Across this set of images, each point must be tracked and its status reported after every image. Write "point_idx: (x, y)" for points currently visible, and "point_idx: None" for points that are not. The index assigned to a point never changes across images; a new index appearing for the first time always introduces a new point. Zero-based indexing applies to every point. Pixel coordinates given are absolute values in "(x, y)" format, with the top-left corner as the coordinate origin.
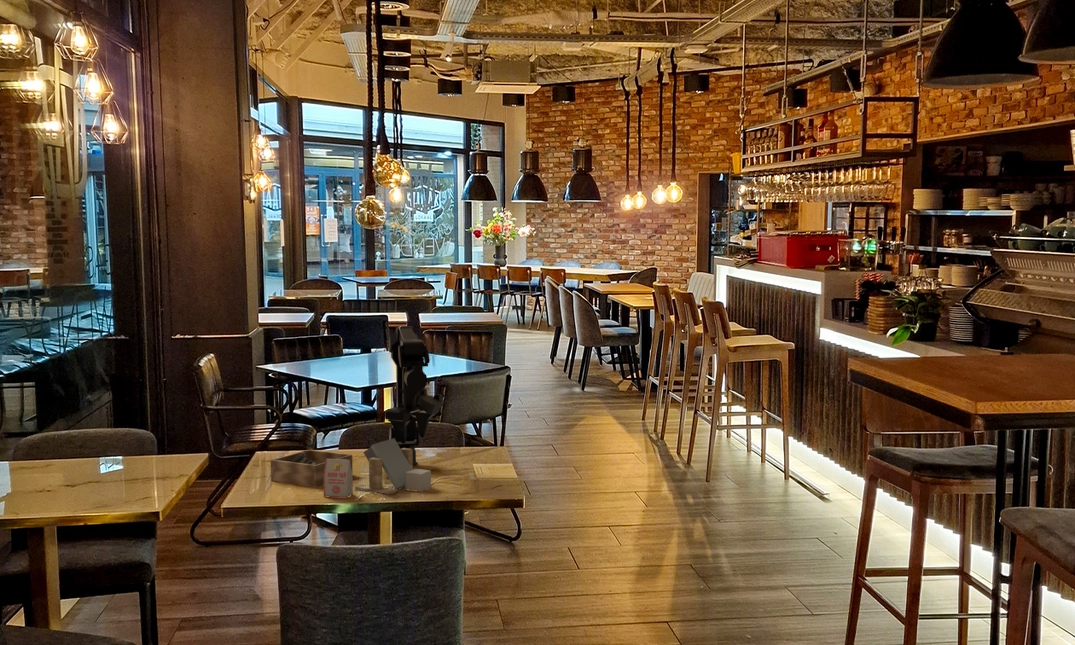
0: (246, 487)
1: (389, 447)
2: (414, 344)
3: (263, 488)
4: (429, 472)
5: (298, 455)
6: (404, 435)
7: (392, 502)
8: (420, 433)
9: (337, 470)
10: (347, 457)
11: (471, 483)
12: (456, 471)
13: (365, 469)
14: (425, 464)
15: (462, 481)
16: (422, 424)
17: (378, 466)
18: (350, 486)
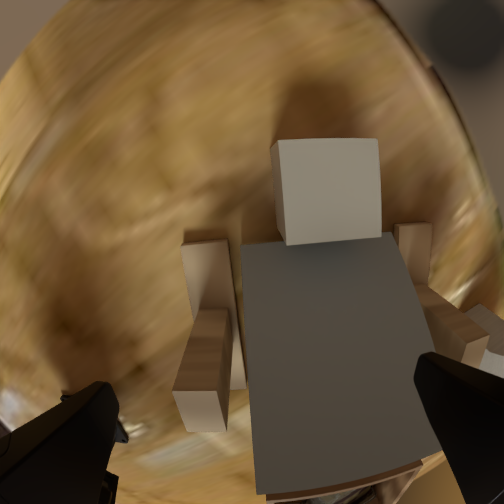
0: (424, 470)
1: (345, 438)
2: None
3: (428, 458)
4: (290, 140)
5: None
6: (494, 377)
7: (478, 158)
8: (109, 428)
9: None
10: (289, 495)
11: (120, 69)
12: (28, 247)
13: (197, 461)
14: (49, 376)
15: (110, 117)
16: (58, 485)
17: (469, 321)
18: (480, 325)
